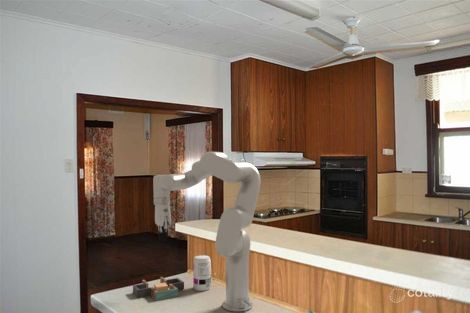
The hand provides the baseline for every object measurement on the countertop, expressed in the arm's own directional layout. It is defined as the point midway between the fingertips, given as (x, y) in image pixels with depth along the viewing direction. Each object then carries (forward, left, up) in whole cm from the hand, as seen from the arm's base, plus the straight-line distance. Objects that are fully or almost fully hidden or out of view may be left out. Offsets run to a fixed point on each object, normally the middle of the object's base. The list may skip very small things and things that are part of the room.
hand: (162, 240), depth 175 cm
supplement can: (-6, -17, -24) cm, 30 cm away
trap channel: (+1, +2, -24) cm, 24 cm away
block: (-5, +3, -24) cm, 24 cm away
